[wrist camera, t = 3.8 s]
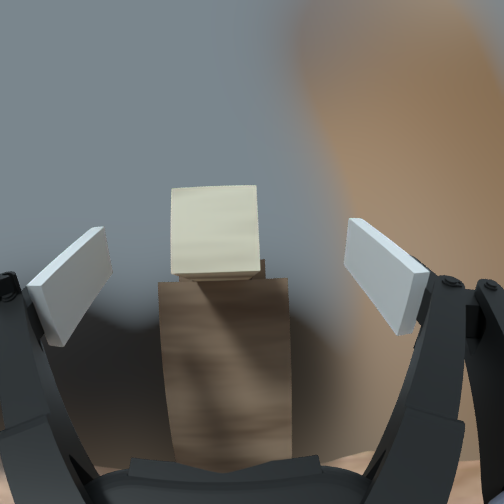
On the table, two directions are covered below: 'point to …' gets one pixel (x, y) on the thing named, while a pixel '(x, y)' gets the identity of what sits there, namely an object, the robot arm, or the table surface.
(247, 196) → the ash bar
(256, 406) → the walnut stand
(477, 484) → the table surface
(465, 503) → the table surface
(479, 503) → the table surface
